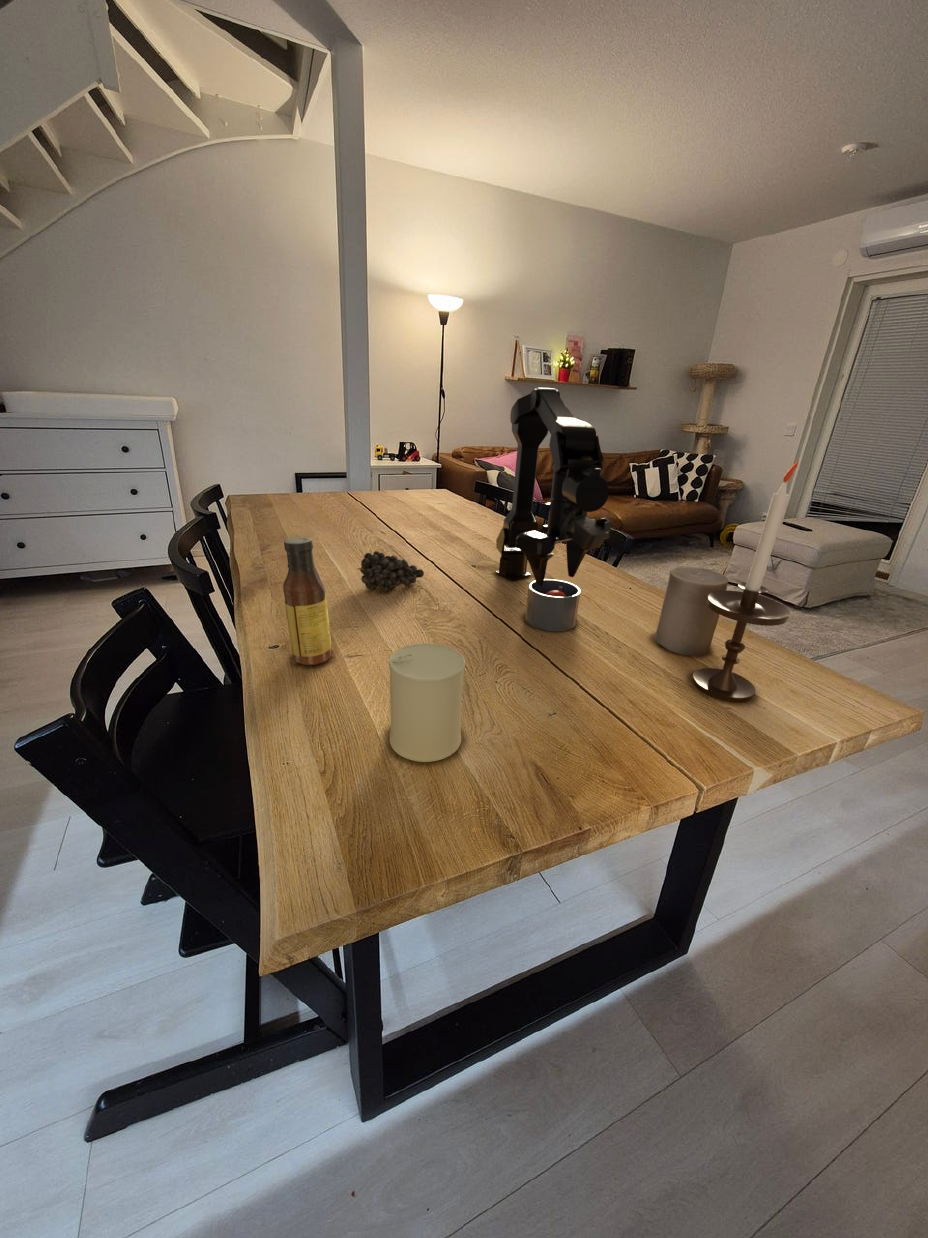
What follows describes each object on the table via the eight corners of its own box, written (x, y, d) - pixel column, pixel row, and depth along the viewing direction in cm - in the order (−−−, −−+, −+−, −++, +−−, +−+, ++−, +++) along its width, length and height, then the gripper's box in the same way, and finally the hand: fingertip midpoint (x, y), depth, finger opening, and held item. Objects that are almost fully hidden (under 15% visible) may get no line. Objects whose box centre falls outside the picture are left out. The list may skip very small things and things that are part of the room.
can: (391, 717, 68) (390, 639, 63) (458, 717, 69) (462, 639, 64) (387, 763, 60) (385, 676, 55) (464, 761, 61) (469, 676, 56)
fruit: (421, 543, 114) (355, 545, 108) (433, 564, 109) (364, 569, 103) (416, 573, 120) (353, 577, 114) (427, 595, 114) (361, 601, 108)
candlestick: (774, 694, 79) (857, 463, 64) (734, 713, 73) (815, 466, 59) (711, 664, 87) (773, 453, 73) (671, 679, 82) (729, 454, 67)
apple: (548, 613, 104) (558, 583, 103) (569, 622, 100) (580, 592, 99) (531, 611, 100) (541, 581, 99) (552, 621, 96) (563, 590, 95)
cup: (548, 607, 107) (552, 576, 104) (585, 623, 100) (591, 590, 97) (515, 617, 101) (518, 585, 98) (552, 635, 94) (557, 601, 91)
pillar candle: (709, 639, 96) (730, 565, 90) (708, 661, 88) (732, 581, 82) (656, 628, 100) (673, 555, 93) (651, 648, 92) (669, 570, 85)
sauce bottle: (339, 653, 84) (332, 537, 76) (317, 670, 79) (307, 548, 70) (306, 645, 86) (295, 532, 78) (282, 662, 80) (268, 541, 72)
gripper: (567, 513, 79) (555, 604, 86) (634, 503, 91) (619, 584, 97) (517, 501, 87) (510, 585, 94) (585, 492, 98) (574, 568, 105)
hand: (555, 580), depth 97 cm, fingers open, 9 cm apart
